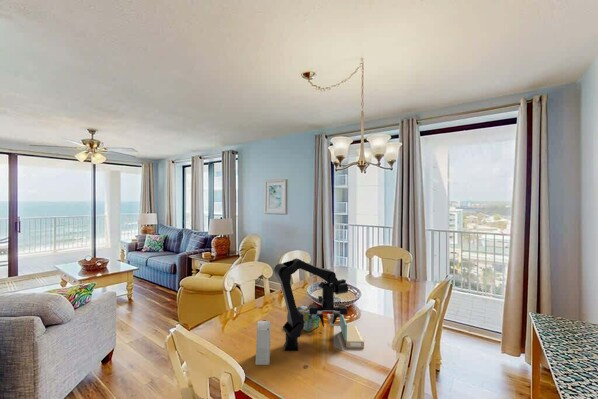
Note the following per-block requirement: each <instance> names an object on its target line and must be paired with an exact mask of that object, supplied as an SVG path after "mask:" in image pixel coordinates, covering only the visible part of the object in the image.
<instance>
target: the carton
mask: <svg viewBox="0 0 598 399" xmlns="http://www.w3.org/2000/svg"><path fill="white" fill-rule="evenodd" d="M340 332H341V333H342V330H341V329H340ZM342 337H343V340H344V343H345V346H346V348H347V349H348V348H349V349H364V348H365V341H364V338H363V336H362V334H361V332H360V330H359V329H358V326H357V325H347V340H345V339H344V336H343V333H342Z"/></svg>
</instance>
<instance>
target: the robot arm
mask: <svg viewBox="0 0 598 399" xmlns="http://www.w3.org/2000/svg"><path fill="white" fill-rule="evenodd" d="M300 269H301V270H303V271H305V272H307V273H309V274H312V275H315V276H317V277H318V278H320V279H321V280H323V281H325V282H323V281H321V282H320V283H319V284H318V285H317V286H318V287H319V288H320V289H321V290H322V292H321V295H318V297H317V299H318V301H317V303H319V304H321V307H320V306H318V305H317V304H309V306H308V307H309V314H312V315H316V314H317V316H319V320H321V321H320V323H321V326H322V328H324V327H325V324H324V314H323V312H328V313H329V312H331V313H332V317H331V321H332V324H336V323H335V322H336V321H337V319H338V318H339V317H338V316H340V314H341V315H343V316H345V315H346V316H347V315H349V314H348V312H349V311H348V308H347V306H346V305H345V304H338V305H337V306H334V305H335V304H334V303H335V300H334V299H335V295H341V294H342V295H343V294H347V293H348V292H349V286H348V283H347V280H346V279H345V278H344V279H343V278H342V279H338V278H337V275H336V273H335V272H334V271H332V270H331V269H327V268H323V267H318V266H315V265H312V264H311V263H308V262H306V261H304V260H302V259H300V258H297V257H296V258H293V259H292V260H287V261H285V262H283V263H278V264H276V265H275V266H274V267H273V272H274V274H275V277H276V279H277V281H278V282H279V284H280V287H281V290H282V295H283V299H284V303H285V305H286V307H285V308H286V310H287V315H286V319H287V320H286V322H285V323H284V324H283V326H282V330H283V331H284V332H285V342H284V348H283V349H284V351H287V352H288V351H291V352H292V351H295V352H296V351H299V342H298V340H299V339H298V338H300V337H301V336H302V335H301V334H302V332H303V331H304V330H303V328H304V323H305V322H304V319H303V314H301V313H300V312H299V311H298V310H297V308H298V307H297V305H296V301H295V297H294V293H293V289H292V285H291V280H292V275H293V274H295V273H296V272H297V271H298V270H300ZM333 327H334V326H332V327H331V328H333Z"/></svg>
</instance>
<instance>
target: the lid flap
mask: <svg viewBox="0 0 598 399" xmlns="http://www.w3.org/2000/svg"><path fill="white" fill-rule="evenodd" d="M332 314H333V313H332ZM332 314H331V313H327V314H326V317H327V321H328V324H329V327H331V328H333V327H340V331H341V330H342V332H341V333H343V335H342V337H343V336H344V338H343V340H344V339H345V340H347V326H348V323H347V322H346V318H345V315H341V314H340V313H339V314H340V316H338V317H337V318H339V323H334V324H332ZM332 326H333V327H332Z"/></svg>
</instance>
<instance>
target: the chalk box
mask: <svg viewBox="0 0 598 399" xmlns="http://www.w3.org/2000/svg"><path fill="white" fill-rule="evenodd" d="M296 308H297V310H298V311H299V312H300V313H301V314H303V319H304V322H305V323H304V328H303V330H302V331H305V332H308V333H310V332H312V331H313V330H316V329H318V327H320V322H321V319H320V317H319V316H317V314H316V315H312V314H309V306H308V305H305V304H304V305H303V304H302V305H301V306H298V307H296Z"/></svg>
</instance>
